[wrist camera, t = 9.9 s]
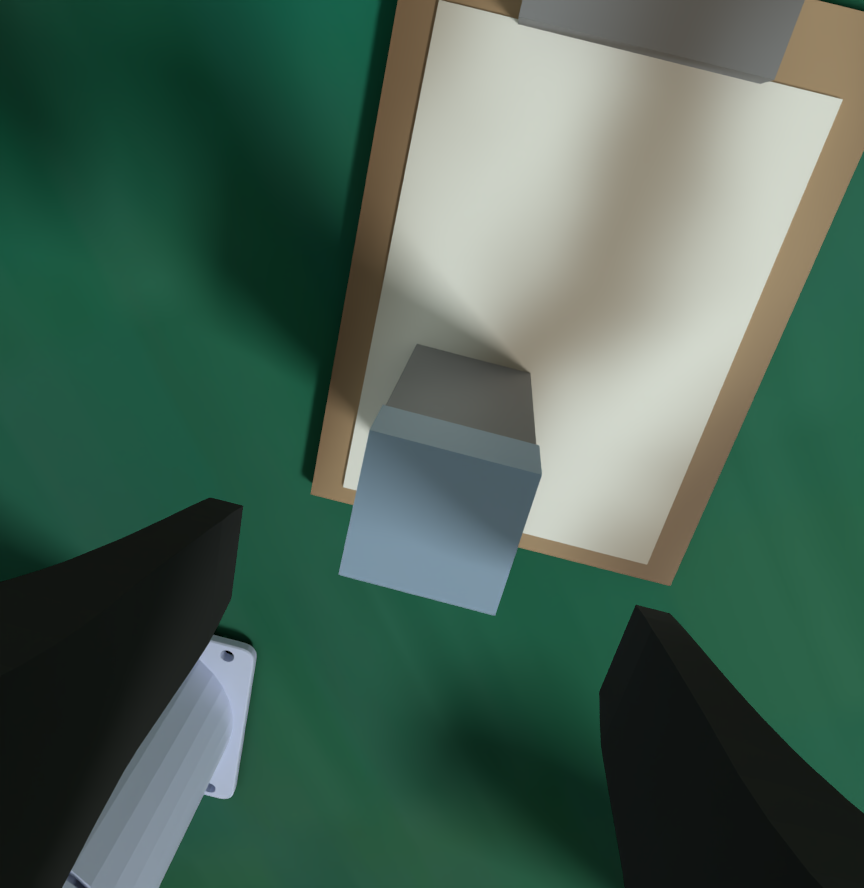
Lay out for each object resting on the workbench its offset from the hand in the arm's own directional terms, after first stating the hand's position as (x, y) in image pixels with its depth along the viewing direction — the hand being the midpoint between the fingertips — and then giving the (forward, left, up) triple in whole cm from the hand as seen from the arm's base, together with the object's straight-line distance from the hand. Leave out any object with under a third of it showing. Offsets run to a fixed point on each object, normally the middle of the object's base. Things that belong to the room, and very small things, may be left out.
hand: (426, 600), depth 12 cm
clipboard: (+2, +4, -10) cm, 11 cm away
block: (0, 0, -9) cm, 9 cm away
